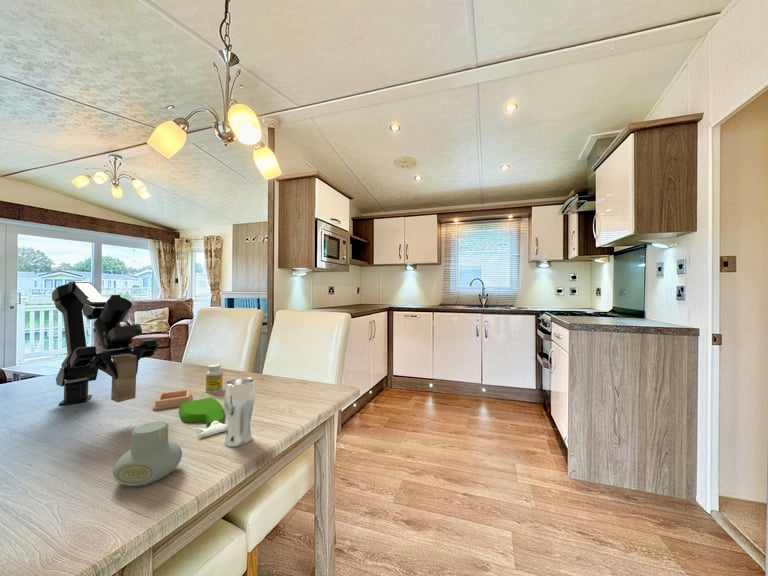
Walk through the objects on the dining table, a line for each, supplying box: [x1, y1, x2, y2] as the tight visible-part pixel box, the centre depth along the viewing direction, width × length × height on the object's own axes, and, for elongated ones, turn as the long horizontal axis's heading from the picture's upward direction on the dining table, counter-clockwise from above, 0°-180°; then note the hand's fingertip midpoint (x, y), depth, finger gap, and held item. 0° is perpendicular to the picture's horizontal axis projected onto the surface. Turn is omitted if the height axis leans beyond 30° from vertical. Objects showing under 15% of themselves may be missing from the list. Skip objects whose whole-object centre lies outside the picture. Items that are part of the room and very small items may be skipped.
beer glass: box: [223, 377, 256, 448], centre depth 75 cm, size 7×7×15 cm
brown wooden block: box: [110, 354, 137, 403], centre depth 84 cm, size 4×4×12 cm
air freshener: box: [112, 420, 183, 487], centre depth 60 cm, size 11×8×10 cm
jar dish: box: [152, 388, 193, 411], centre depth 100 cm, size 10×10×2 cm
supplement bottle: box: [205, 363, 223, 394], centre depth 112 cm, size 5×5×10 cm
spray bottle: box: [178, 396, 227, 439], centre depth 87 cm, size 3×11×24 cm
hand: (126, 376), depth 84 cm, fingers closed on brown wooden block, 4 cm apart
